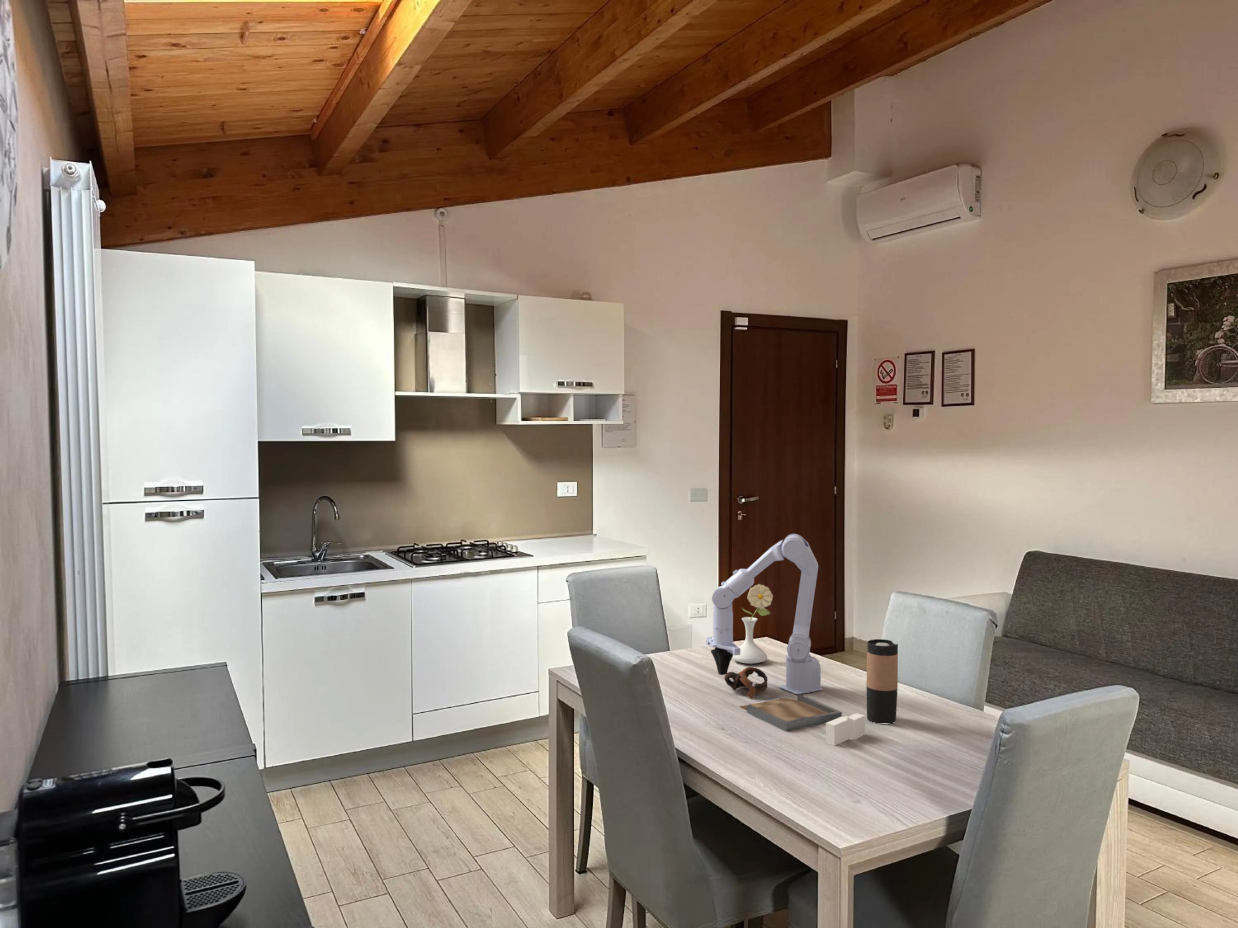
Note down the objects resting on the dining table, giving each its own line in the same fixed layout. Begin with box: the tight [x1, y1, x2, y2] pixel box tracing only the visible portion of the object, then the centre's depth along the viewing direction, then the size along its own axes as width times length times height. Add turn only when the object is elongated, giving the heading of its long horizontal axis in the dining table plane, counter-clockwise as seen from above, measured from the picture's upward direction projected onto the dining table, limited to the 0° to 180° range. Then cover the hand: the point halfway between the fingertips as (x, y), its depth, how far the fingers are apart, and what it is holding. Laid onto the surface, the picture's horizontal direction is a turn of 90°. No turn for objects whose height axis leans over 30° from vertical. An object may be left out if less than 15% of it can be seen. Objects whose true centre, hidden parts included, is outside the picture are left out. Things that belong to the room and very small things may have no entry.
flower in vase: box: [732, 583, 774, 664], centre depth 280 cm, size 13×11×25 cm
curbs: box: [746, 694, 843, 732], centre depth 229 cm, size 18×16×2 cm
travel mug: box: [865, 638, 899, 724], centre depth 226 cm, size 8×8×20 cm
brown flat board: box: [738, 697, 827, 721], centre depth 232 cm, size 16×20×2 cm
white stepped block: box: [825, 712, 866, 746], centre depth 213 cm, size 15×11×6 cm
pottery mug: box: [724, 666, 768, 699], centre depth 248 cm, size 12×10×8 cm
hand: (722, 673), depth 257 cm, fingers closed
